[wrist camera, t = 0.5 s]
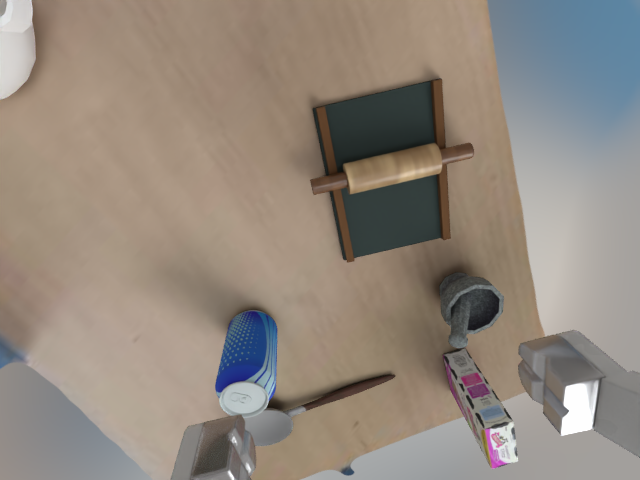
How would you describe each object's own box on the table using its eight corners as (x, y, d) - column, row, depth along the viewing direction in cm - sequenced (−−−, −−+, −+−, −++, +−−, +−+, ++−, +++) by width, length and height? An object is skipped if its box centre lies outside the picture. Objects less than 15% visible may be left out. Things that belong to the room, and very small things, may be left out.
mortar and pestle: (473, 254, 60) (516, 292, 49) (488, 294, 64) (530, 337, 53) (414, 283, 61) (442, 327, 50) (432, 320, 65) (462, 368, 54)
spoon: (228, 408, 68) (227, 422, 66) (386, 351, 68) (391, 363, 65) (250, 438, 74) (250, 452, 71) (397, 385, 73) (402, 397, 71)
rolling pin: (307, 168, 50) (309, 176, 46) (462, 132, 50) (477, 136, 46) (314, 197, 52) (316, 206, 48) (463, 162, 52) (478, 169, 48)
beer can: (260, 298, 59) (253, 367, 45) (286, 331, 63) (286, 406, 48) (219, 320, 60) (199, 395, 46) (246, 351, 64) (235, 430, 49)
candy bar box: (440, 354, 69) (483, 429, 54) (464, 346, 68) (515, 419, 53) (449, 392, 73) (491, 471, 58) (472, 385, 73) (520, 462, 58)
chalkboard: (312, 108, 48) (313, 109, 46) (440, 78, 48) (444, 78, 46) (343, 259, 58) (345, 263, 56) (449, 234, 58) (453, 238, 56)
